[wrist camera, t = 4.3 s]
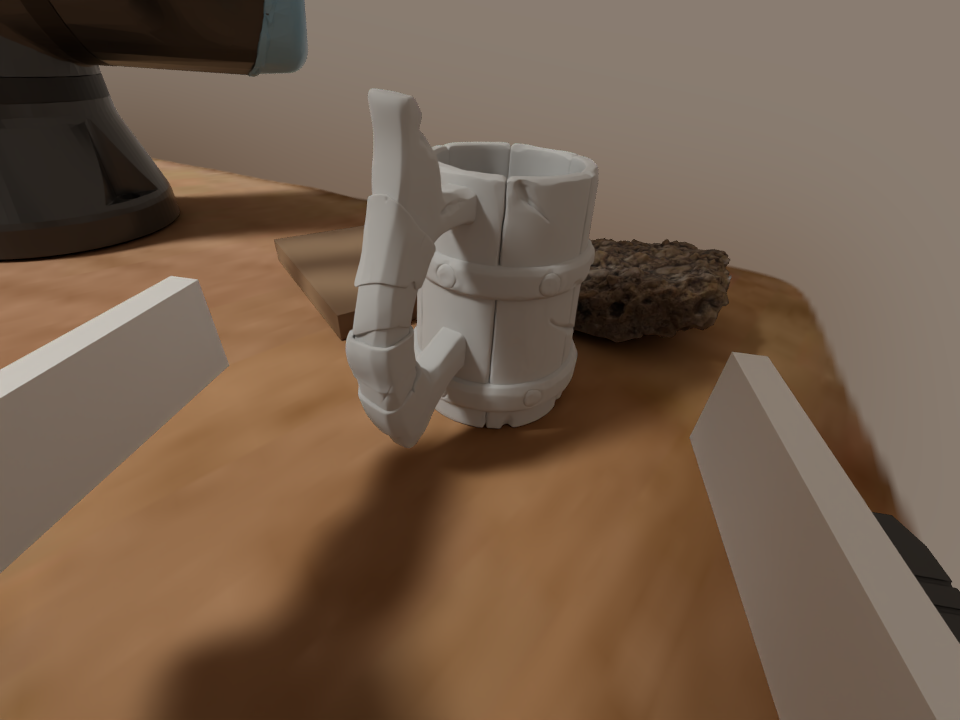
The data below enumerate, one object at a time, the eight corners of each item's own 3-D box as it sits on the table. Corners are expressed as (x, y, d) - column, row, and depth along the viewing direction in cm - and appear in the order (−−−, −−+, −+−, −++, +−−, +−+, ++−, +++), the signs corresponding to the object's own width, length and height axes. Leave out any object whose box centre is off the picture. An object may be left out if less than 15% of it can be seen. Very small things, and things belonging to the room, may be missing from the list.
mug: (591, 366, 22) (663, 92, 15) (468, 547, 14) (499, 117, 6) (466, 321, 25) (477, 75, 18) (302, 446, 16) (200, 76, 9)
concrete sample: (717, 311, 28) (751, 236, 25) (691, 393, 21) (733, 301, 18) (557, 266, 32) (569, 198, 30) (491, 320, 25) (497, 237, 22)
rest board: (278, 260, 30) (267, 210, 28) (446, 230, 37) (446, 188, 35) (341, 340, 22) (331, 279, 20) (537, 283, 29) (545, 233, 27)
